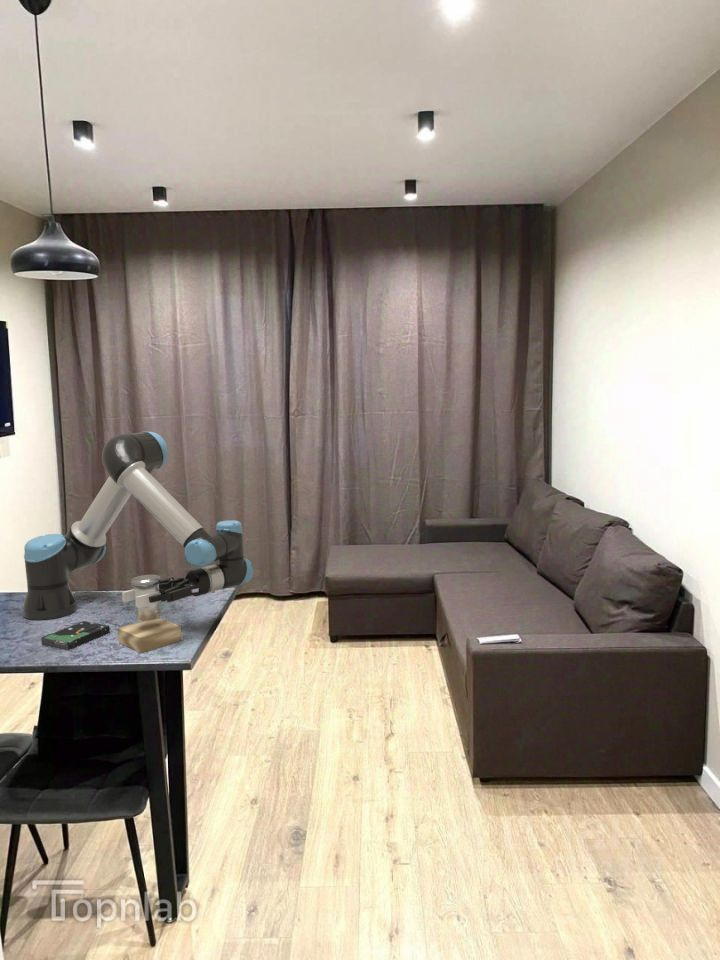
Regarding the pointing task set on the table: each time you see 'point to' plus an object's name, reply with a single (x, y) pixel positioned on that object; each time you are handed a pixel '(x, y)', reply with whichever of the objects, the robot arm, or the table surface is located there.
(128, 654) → the table surface
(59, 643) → the disk drive
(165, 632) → the stand
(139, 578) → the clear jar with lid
